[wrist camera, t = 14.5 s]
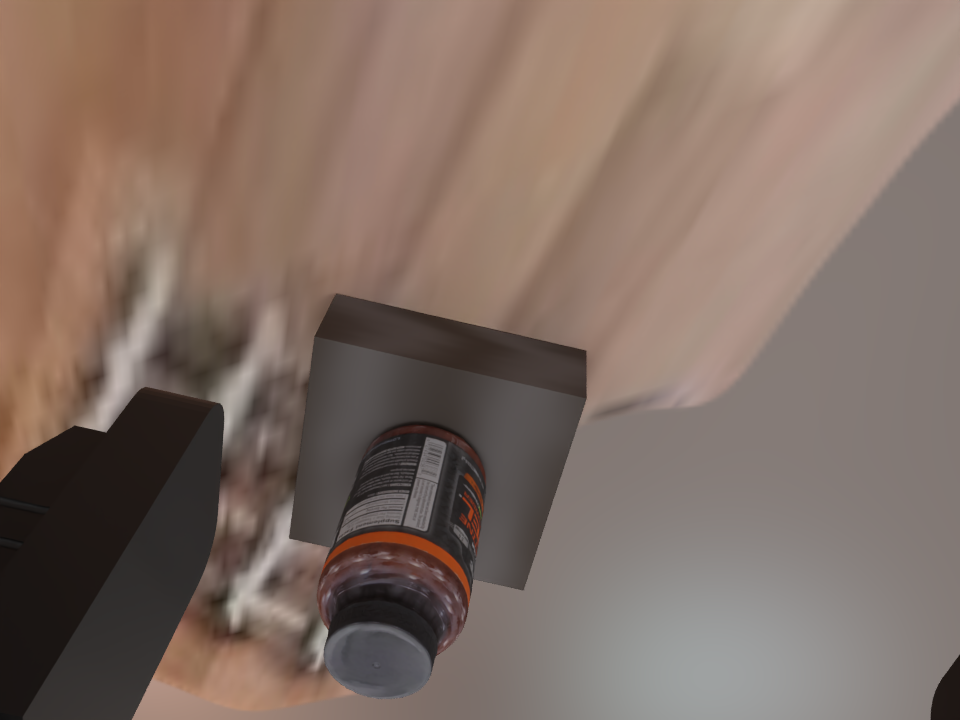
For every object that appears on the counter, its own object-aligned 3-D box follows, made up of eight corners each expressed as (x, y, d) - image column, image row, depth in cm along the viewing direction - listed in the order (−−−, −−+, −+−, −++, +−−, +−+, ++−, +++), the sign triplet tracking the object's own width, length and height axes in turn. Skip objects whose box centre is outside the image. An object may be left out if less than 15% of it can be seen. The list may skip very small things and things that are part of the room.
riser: (309, 486, 49) (288, 538, 45) (335, 293, 43) (314, 336, 39) (527, 535, 49) (523, 590, 46) (586, 351, 43) (586, 398, 39)
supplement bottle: (498, 515, 43) (473, 719, 34) (378, 524, 44) (320, 723, 35) (475, 412, 40) (440, 603, 31) (347, 424, 41) (274, 612, 32)
